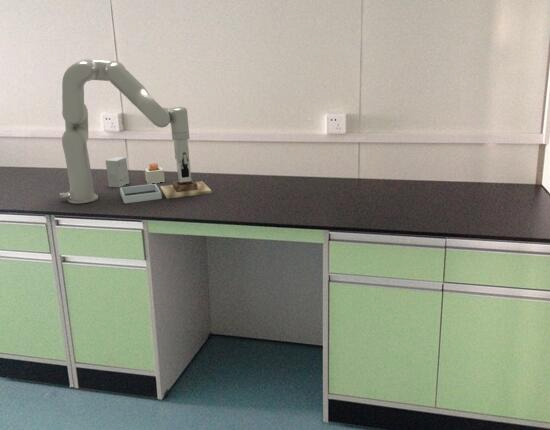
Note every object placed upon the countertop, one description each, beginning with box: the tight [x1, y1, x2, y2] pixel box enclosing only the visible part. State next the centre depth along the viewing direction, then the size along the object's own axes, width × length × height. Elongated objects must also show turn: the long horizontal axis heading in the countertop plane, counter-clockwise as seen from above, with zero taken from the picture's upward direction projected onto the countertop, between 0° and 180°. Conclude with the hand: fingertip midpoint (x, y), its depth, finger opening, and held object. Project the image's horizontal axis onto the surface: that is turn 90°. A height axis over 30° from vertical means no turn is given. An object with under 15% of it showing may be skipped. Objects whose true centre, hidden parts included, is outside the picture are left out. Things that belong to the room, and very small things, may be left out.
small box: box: [104, 156, 130, 189], centre depth 262 cm, size 8×6×13 cm
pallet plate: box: [159, 178, 212, 200], centre depth 250 cm, size 20×18×4 cm
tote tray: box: [119, 183, 163, 204], centre depth 243 cm, size 16×16×3 cm
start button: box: [148, 162, 159, 171], centre depth 266 cm, size 4×4×3 cm
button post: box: [144, 166, 165, 185], centre depth 267 cm, size 8×8×6 cm
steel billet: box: [176, 158, 192, 183], centre depth 247 cm, size 5×5×10 cm
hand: (184, 175), depth 248 cm, fingers closed on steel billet, 5 cm apart
